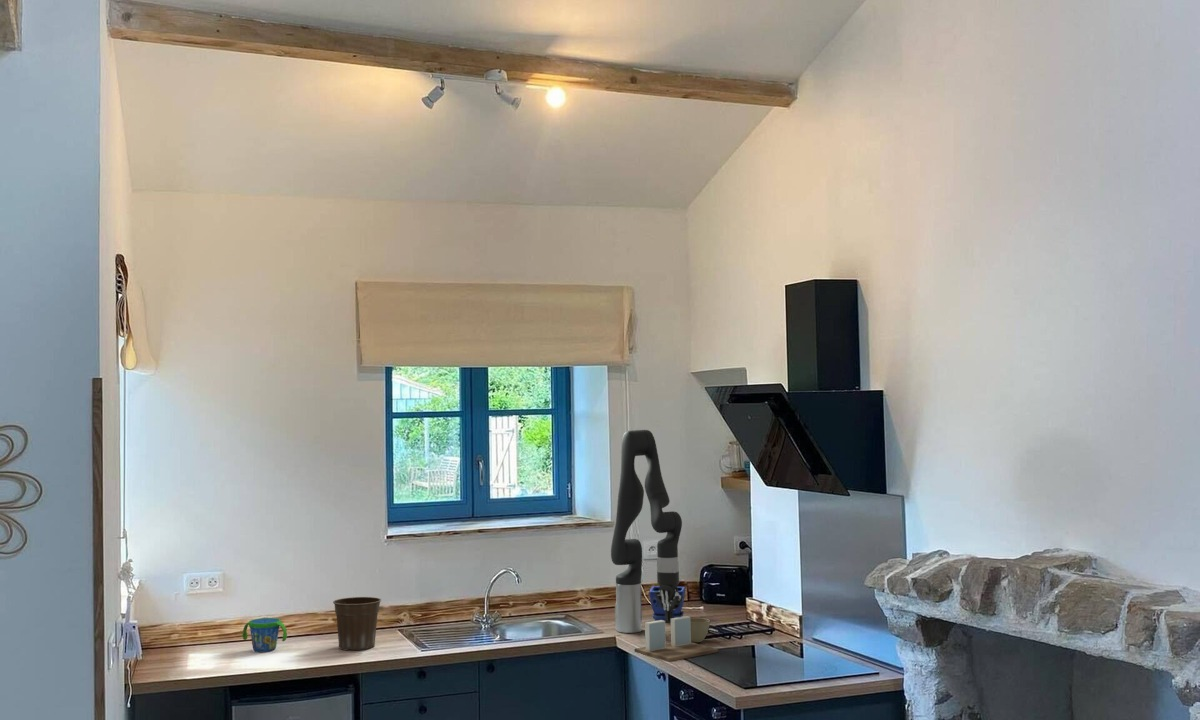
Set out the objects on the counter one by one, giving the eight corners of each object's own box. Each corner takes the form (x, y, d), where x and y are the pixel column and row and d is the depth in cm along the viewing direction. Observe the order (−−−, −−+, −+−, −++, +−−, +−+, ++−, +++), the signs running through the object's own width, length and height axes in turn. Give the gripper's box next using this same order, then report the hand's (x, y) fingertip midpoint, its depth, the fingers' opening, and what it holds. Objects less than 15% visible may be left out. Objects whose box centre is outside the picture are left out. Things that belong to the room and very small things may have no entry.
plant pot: (365, 640, 373) (365, 594, 374) (390, 646, 362) (390, 599, 363) (324, 647, 362) (324, 600, 363) (349, 654, 350) (348, 605, 351)
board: (634, 651, 347) (634, 648, 347) (682, 643, 359) (682, 640, 360) (669, 661, 333) (669, 658, 333) (718, 652, 345) (717, 648, 345)
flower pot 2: (708, 644, 357) (708, 623, 358) (679, 643, 359) (679, 622, 360) (711, 638, 367) (711, 617, 367) (683, 637, 369) (682, 617, 369)
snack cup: (293, 648, 362) (293, 618, 362) (275, 654, 352) (275, 624, 352) (254, 646, 366) (254, 616, 367) (235, 652, 356) (235, 622, 357)
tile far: (671, 645, 351) (670, 618, 352) (686, 642, 355) (686, 616, 356) (675, 646, 350) (674, 619, 350) (691, 643, 354) (690, 616, 354)
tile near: (645, 650, 345) (645, 622, 345) (661, 647, 349) (661, 620, 350) (649, 651, 343) (649, 623, 344) (665, 648, 347) (665, 620, 348)
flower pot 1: (652, 616, 411) (651, 585, 412) (686, 616, 409) (685, 585, 410) (649, 622, 398) (648, 590, 399) (684, 622, 396) (683, 591, 397)
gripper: (647, 569, 362) (648, 620, 361) (671, 573, 351) (673, 625, 350) (664, 567, 366) (665, 617, 365) (688, 571, 356) (690, 622, 354)
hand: (669, 621), depth 358 cm, fingers closed
